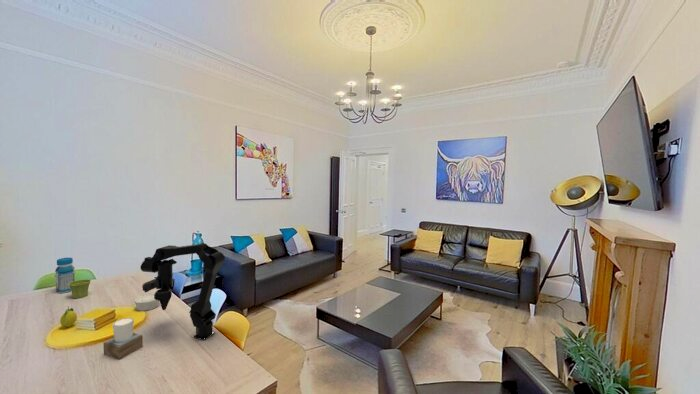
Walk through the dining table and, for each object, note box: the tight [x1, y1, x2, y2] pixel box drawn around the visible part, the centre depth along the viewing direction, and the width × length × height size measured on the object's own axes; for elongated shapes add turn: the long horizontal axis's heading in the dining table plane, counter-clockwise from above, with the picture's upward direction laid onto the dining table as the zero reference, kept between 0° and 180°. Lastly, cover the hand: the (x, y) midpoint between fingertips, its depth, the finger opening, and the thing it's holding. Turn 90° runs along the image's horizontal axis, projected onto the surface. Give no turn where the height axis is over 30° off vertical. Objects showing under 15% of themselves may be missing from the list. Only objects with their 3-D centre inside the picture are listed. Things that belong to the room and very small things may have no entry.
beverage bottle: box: [54, 257, 76, 294], centre depth 168 cm, size 8×8×20 cm
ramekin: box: [134, 293, 160, 312], centre depth 151 cm, size 11×11×5 cm
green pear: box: [59, 305, 78, 327], centre depth 129 cm, size 7×6×10 cm
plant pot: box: [68, 278, 92, 299], centre depth 161 cm, size 9×9×9 cm
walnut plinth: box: [103, 332, 144, 360], centre depth 114 cm, size 9×9×5 cm
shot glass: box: [112, 317, 135, 342], centre depth 113 cm, size 7×7×7 cm
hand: (165, 305), depth 129 cm, fingers open, 9 cm apart
